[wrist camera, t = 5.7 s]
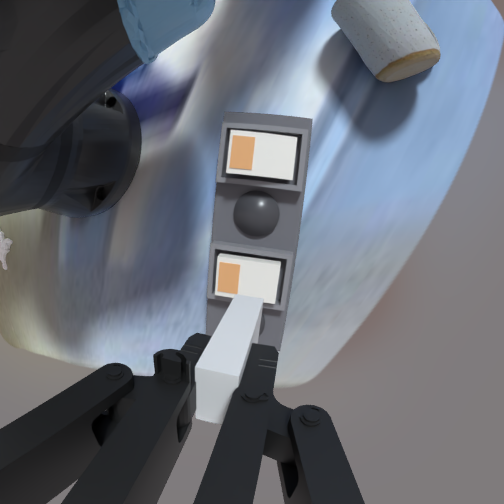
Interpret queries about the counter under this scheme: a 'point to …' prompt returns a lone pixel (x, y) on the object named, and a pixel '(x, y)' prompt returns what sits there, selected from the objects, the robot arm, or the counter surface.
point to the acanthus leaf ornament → (4, 248)
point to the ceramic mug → (388, 36)
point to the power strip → (258, 218)
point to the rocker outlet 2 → (247, 277)
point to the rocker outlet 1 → (261, 154)
